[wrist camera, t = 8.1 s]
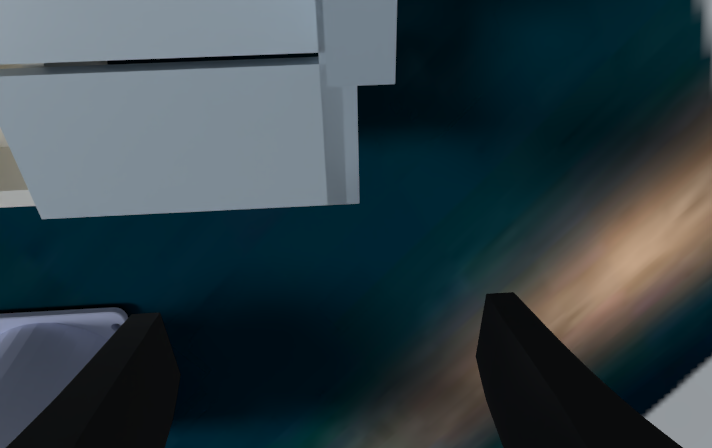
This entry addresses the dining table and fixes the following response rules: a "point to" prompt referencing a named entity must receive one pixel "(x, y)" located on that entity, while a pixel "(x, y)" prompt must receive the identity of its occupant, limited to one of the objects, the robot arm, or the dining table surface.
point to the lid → (189, 102)
